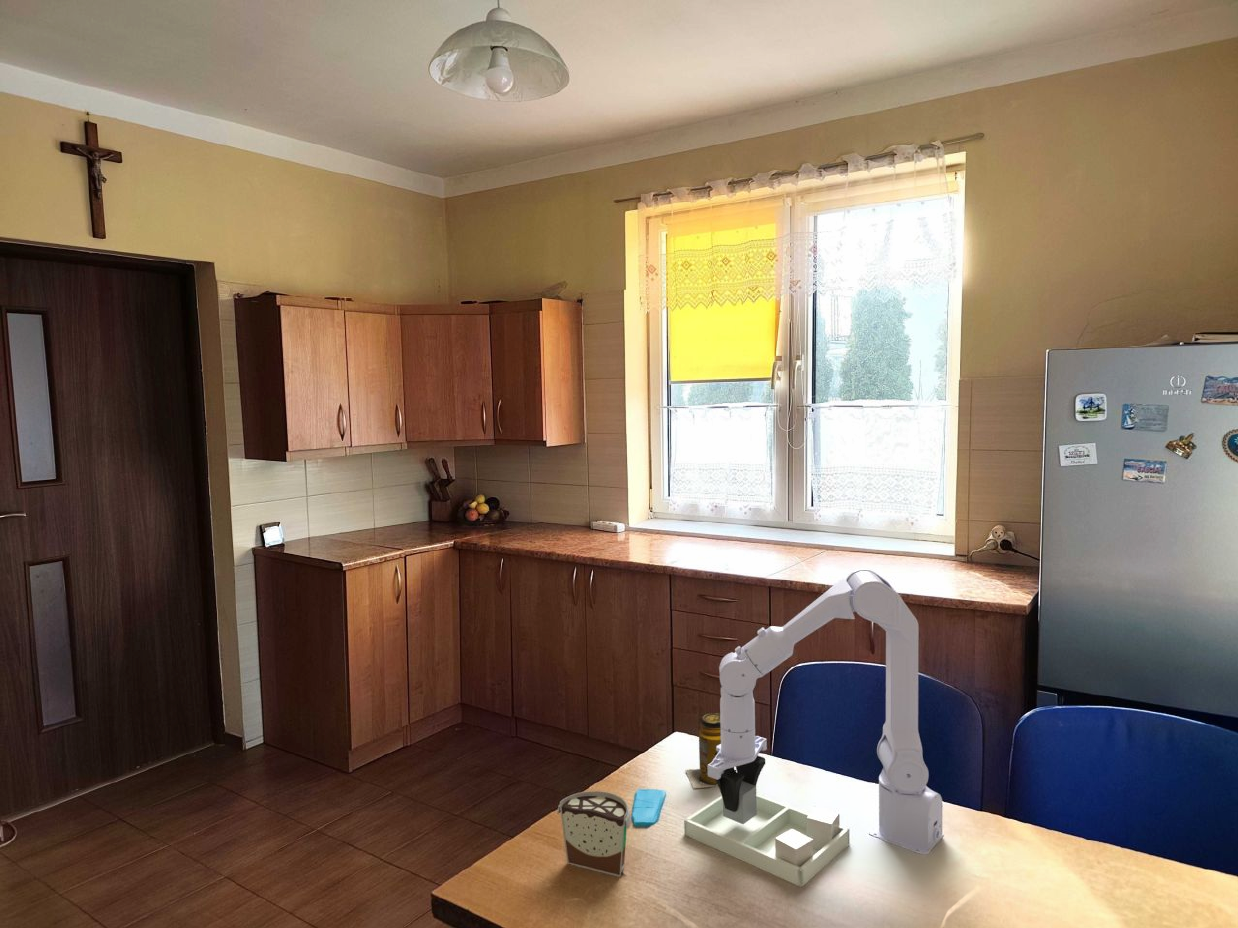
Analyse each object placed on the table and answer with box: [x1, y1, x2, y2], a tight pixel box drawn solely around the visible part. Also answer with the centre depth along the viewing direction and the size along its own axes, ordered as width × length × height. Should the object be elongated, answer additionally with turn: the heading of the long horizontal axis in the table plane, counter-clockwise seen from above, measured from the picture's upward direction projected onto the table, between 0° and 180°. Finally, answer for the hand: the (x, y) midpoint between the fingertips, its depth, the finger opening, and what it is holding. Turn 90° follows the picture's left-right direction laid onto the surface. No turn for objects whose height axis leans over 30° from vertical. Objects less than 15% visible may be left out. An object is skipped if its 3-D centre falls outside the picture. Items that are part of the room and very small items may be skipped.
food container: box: [557, 790, 633, 878], centre depth 126 cm, size 12×6×10 cm, turn 65°
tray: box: [683, 793, 850, 888], centre depth 130 cm, size 22×15×3 cm
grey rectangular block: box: [723, 781, 757, 824], centre depth 134 cm, size 4×4×5 cm
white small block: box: [807, 806, 840, 851], centre depth 128 cm, size 4×4×5 cm
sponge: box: [630, 788, 667, 828], centre depth 142 cm, size 2×12×6 cm
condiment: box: [684, 712, 721, 790], centre depth 152 cm, size 7×8×12 cm
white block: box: [775, 829, 813, 867], centre depth 121 cm, size 4×4×5 cm
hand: (738, 803), depth 134 cm, fingers closed on grey rectangular block, 4 cm apart
